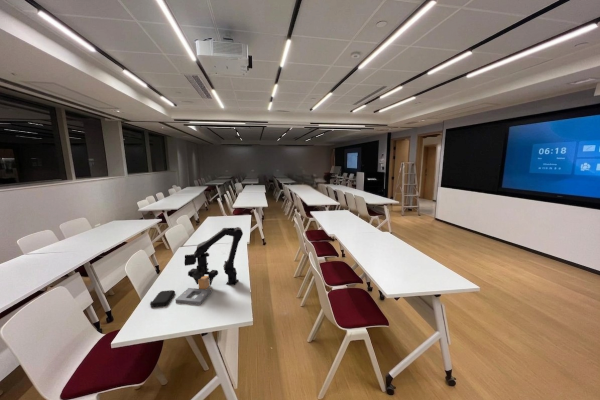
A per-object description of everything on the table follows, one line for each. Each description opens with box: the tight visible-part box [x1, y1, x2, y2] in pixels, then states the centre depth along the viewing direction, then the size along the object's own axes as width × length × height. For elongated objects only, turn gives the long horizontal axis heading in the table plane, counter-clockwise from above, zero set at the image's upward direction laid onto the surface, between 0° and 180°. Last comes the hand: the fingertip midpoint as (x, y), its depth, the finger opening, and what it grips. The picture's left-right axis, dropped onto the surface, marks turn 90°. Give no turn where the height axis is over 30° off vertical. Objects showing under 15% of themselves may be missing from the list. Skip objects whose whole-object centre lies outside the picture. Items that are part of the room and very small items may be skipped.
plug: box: [198, 275, 210, 289], centre depth 158 cm, size 6×4×7 cm, turn 171°
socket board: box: [175, 287, 212, 306], centre depth 147 cm, size 13×16×2 cm
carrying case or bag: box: [149, 289, 176, 308], centre depth 144 cm, size 11×3×15 cm
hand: (204, 284), depth 158 cm, fingers open, 9 cm apart
